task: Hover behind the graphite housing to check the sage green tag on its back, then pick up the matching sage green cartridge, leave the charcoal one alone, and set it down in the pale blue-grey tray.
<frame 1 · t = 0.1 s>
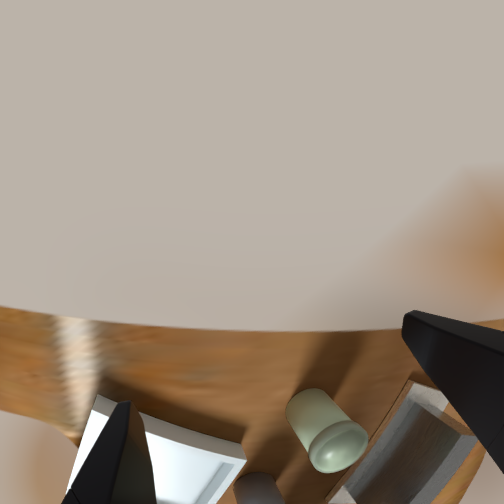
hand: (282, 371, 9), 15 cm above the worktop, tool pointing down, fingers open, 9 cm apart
charcoal cartridge: (253, 485, 27), on the worktop
tray: (148, 467, 24), on the worktop
housing: (390, 448, 31), on the worktop
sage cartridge: (307, 408, 27), on the worktop
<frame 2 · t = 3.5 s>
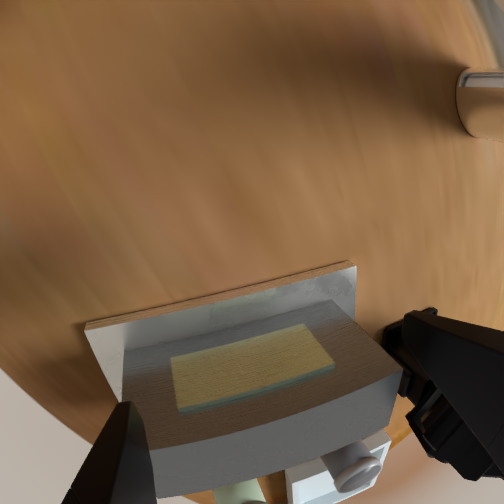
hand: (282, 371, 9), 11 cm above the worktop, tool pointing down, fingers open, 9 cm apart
charcoal cartridge: (329, 431, 29), on the worktop
silver metal cylinder: (473, 102, 21), on the worktop
tray: (331, 472, 34), on the worktop
housing: (233, 348, 22), on the worktop
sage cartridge: (227, 464, 27), on the worktop
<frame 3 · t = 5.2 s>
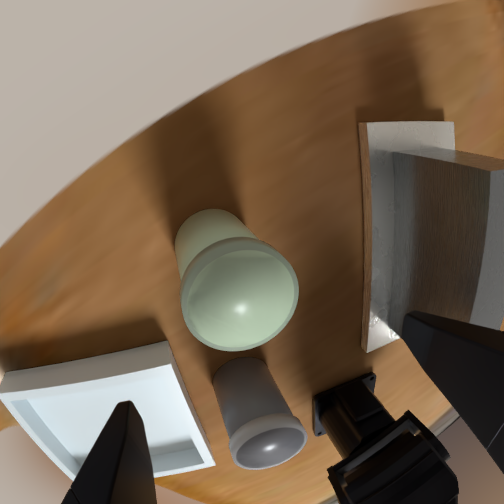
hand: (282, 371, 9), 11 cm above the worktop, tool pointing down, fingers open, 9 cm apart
charcoal cartridge: (241, 379, 23), on the worktop
tray: (111, 417, 21), on the worktop
housing: (409, 237, 23), on the worktop
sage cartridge: (211, 245, 19), on the worktop
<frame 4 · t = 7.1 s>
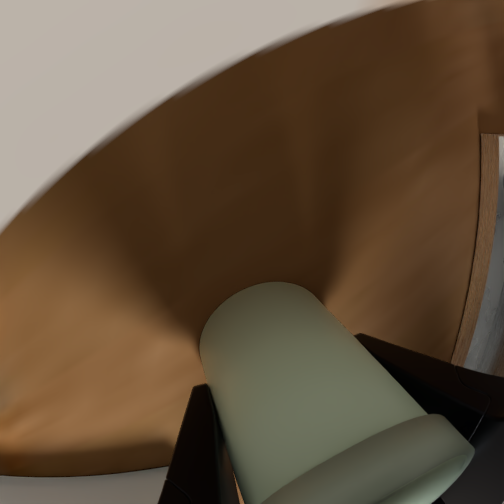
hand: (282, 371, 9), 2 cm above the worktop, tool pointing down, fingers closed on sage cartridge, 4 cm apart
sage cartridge: (266, 342, 10), on the worktop, touching gripper
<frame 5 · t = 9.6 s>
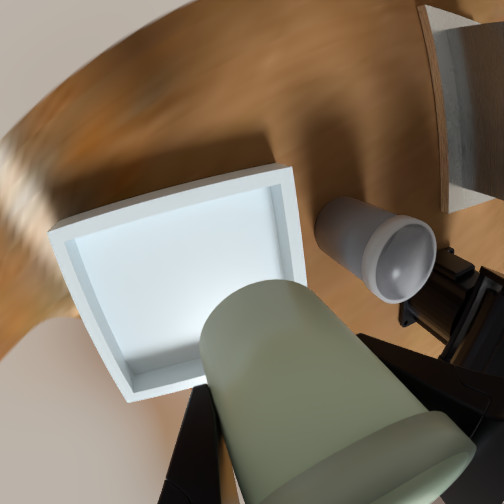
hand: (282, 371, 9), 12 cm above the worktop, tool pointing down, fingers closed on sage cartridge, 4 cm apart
charcoal cartridge: (342, 227, 22), on the worktop
tray: (190, 284, 20), on the worktop
housing: (465, 107, 22), on the worktop
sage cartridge: (266, 340, 10), point 11 cm above the worktop, touching gripper
when the fingers open (3 cm above the worktop, at t = 12.2 s): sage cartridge drops 1 cm, resting on tray.
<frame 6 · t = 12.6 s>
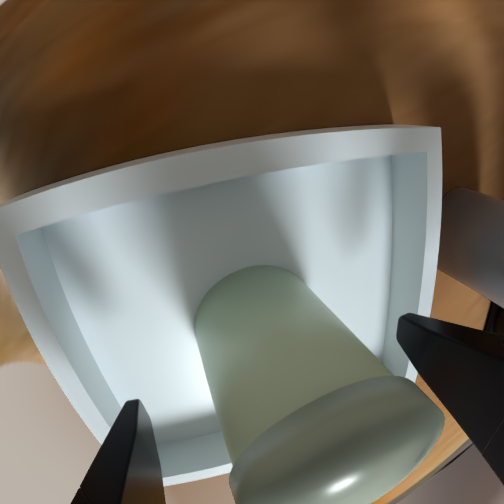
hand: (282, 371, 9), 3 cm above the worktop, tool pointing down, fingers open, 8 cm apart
charcoal cartridge: (455, 230, 14), on the worktop
tray: (250, 315, 12), on the worktop
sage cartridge: (255, 322, 11), point 1 cm above the worktop, touching tray
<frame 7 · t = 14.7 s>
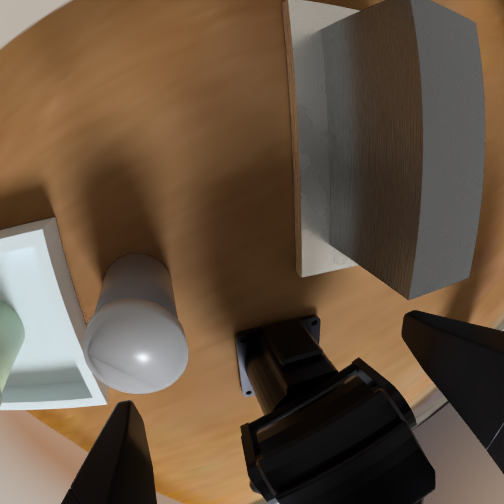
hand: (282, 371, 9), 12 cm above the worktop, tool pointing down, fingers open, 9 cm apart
charcoal cartridge: (137, 286, 19), on the worktop
tray: (1, 322, 17), on the worktop
housing: (353, 135, 20), on the worktop
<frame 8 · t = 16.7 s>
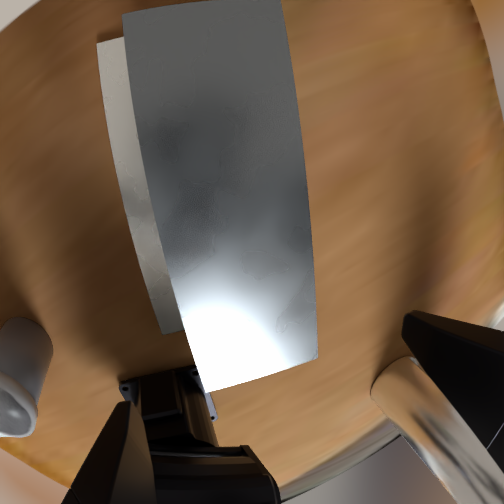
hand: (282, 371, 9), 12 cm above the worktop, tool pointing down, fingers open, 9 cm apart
charcoal cartridge: (26, 343, 18), on the worktop
silver metal cylinder: (393, 378, 31), on the worktop
housing: (199, 178, 18), on the worktop
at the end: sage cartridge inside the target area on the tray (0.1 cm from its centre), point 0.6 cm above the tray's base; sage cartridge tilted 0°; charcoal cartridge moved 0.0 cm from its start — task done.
